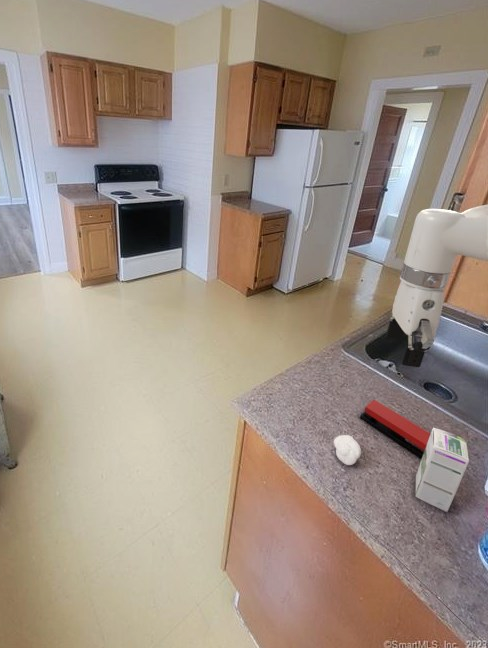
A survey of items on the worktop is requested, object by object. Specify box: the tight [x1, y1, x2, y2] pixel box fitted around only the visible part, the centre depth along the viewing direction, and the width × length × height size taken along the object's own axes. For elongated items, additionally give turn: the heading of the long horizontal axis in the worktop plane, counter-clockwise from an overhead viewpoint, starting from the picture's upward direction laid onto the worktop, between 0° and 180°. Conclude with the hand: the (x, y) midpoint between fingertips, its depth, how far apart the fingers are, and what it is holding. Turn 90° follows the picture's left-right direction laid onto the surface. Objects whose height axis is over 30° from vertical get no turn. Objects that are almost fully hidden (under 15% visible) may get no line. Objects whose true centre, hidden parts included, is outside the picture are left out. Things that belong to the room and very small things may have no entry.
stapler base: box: [359, 411, 424, 460], centre depth 81 cm, size 16×5×2 cm, turn 38°
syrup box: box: [414, 427, 470, 513], centre depth 65 cm, size 6×6×14 cm
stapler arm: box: [363, 398, 431, 451], centre depth 80 cm, size 15×4×2 cm, turn 38°
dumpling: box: [333, 434, 362, 466], centre depth 75 cm, size 7×5×4 cm
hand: (401, 350), depth 67 cm, fingers open, 9 cm apart
